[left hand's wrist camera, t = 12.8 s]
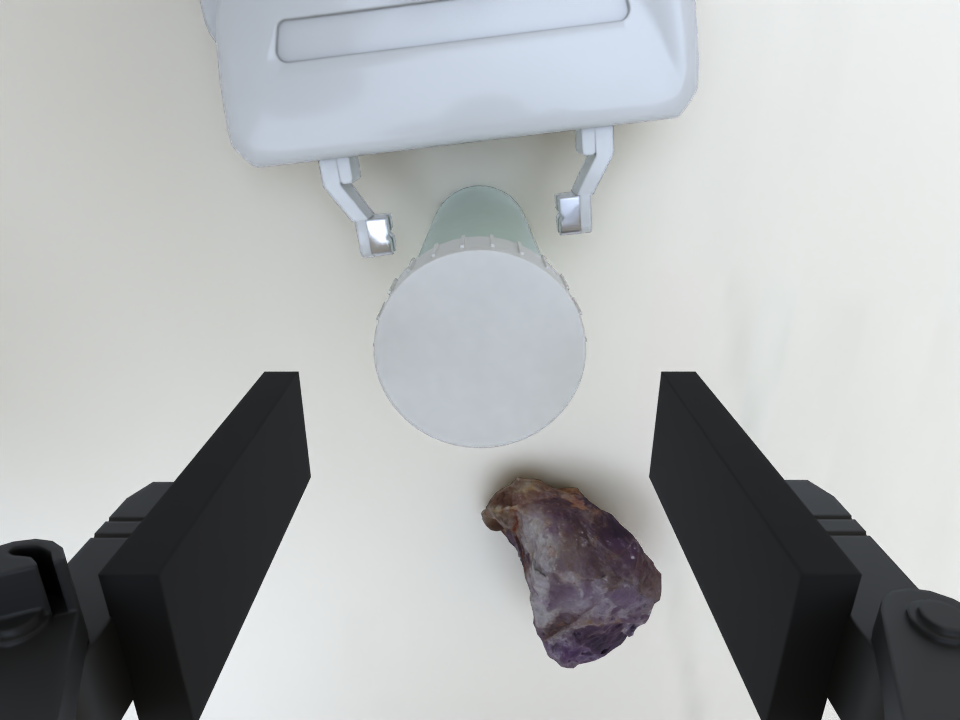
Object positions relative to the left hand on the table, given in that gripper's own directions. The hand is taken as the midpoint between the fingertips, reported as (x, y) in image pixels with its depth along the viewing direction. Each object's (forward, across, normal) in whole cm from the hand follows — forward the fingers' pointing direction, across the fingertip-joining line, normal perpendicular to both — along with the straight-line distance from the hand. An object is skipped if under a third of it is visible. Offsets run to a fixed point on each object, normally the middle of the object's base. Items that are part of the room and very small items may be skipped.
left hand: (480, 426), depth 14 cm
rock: (+23, +6, -20) cm, 31 cm away
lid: (+5, 0, 0) cm, 5 cm away
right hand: (+17, 0, +1) cm, 17 cm away
